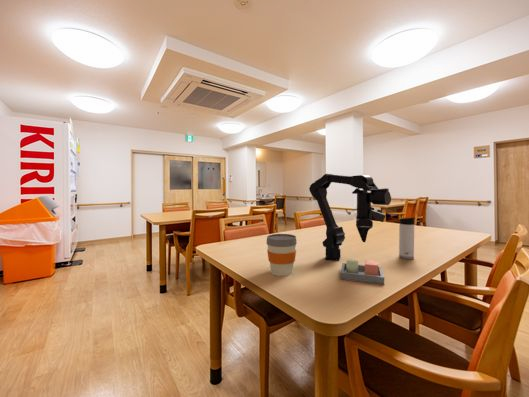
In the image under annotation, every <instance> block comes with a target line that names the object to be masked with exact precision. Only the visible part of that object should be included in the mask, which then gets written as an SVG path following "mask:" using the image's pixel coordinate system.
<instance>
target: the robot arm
mask: <svg viewBox="0 0 529 397" xmlns="http://www.w3.org/2000/svg"><path fill="white" fill-rule="evenodd" d="M332 183H335V184H342V185H343V184H344V185H349V186H351V187H354V188H355V189H354V190H353V191H352V192H351V193H352V194H355V195H356V219H355V225H356V230H357V232H358V234H359V236H360V239H361V241H362V243H366V241H367V237H368V232H369V231H370V229H373V224H374V222H373V219H374V220H377V221H379V222H381V223H384V222H385V220H386V217H387V215H386V214H385V213H383V210H381V209H376V210H374V209H373V207H372V205H376V206H389V205H390V204H391V202H392V196H391V192H390V190H389V189H390V188H389V187H388V188H378V186H377V185H376V183H375V182H374V179H373V177H372V176H371V175H364V174H359V175H352V176H351V175H340V174H339V175H338V174H333V173H325V174H323V175H322V176H321V177H320V178H318V179H316V180H315V181H314V182H312V183H311V184H310V186H309V189H308V190H309V193H310V194H311V196H312V197H313V198H314V199H315V201H316V202H317V205H318V207H319V211H320V212H321V215H322V216H321V217H322V218H323V221H324V224H325V227H326V229H325V230H326V231H325V235H326V238H325V239H324V240H323V241H322V246H323V247H324V248H325V257H324V259H325V260H329V261H340V259H341V255H342V254H341V248H340V246H342V245H343V242H345V239H346V236H345V235H346V233H345V231H344V228H343V227H342V226H339V225H338V223H337V222H336V219H335V217H334V215H333V212H332V209H331V207H330V204H329V203H330V202H329V201H328V199H327V195H328V191H327V189H328V188H330V186H331V184H332Z"/></svg>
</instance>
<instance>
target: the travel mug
mask: <svg viewBox="0 0 529 397" xmlns="http://www.w3.org/2000/svg"><path fill="white" fill-rule="evenodd" d="M415 220H416V218H415V217H402V218H399V225H398V226H399V228H398V229H399V233H398V234H399V236H398V237H399V238H398V243H399V244H398V257H399V258H401V259H403V260H412V259H414V258H415Z"/></svg>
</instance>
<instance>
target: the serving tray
mask: <svg viewBox="0 0 529 397" xmlns="http://www.w3.org/2000/svg"><path fill="white" fill-rule="evenodd" d="M340 280H343V281H345V280H346V281H351V282H352V281H353V282H360V283H369V284H377V285H385V275H384V271H383V268H382V266H378V276H375V275H366V274H365V264H358V274H357V273H348V272H347V267H346V262H342V264H341V269H340Z"/></svg>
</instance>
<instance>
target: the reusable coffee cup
mask: <svg viewBox="0 0 529 397" xmlns="http://www.w3.org/2000/svg"><path fill="white" fill-rule="evenodd" d="M266 245H267V249H266V250H267V251H266V252H267V258H268V262H269V266H270V267H269V268H270V271H271V274H272V275H273V276H277V277H286V276H287V277H288V276H290V275H292V274H293V271H294V263H295V261H296V253H297V249H296V247H297V236H296V235H294V234H290V233H273V234H269V235H267V236H266Z"/></svg>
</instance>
